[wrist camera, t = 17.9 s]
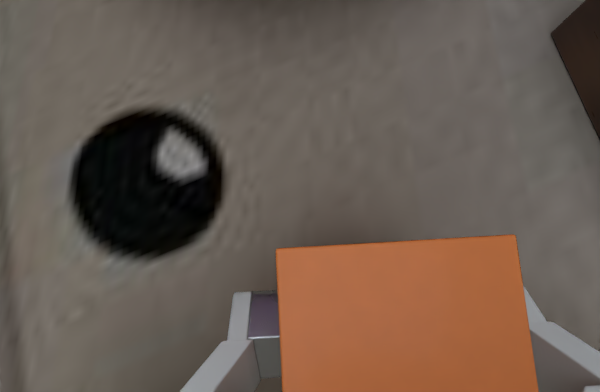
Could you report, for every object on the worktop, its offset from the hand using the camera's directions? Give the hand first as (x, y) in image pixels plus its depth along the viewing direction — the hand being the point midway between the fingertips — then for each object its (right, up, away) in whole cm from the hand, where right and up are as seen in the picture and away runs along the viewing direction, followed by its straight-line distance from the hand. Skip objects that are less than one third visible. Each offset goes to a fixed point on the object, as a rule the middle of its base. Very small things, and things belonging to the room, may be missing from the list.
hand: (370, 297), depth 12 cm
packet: (0, -1, +5) cm, 5 cm away
